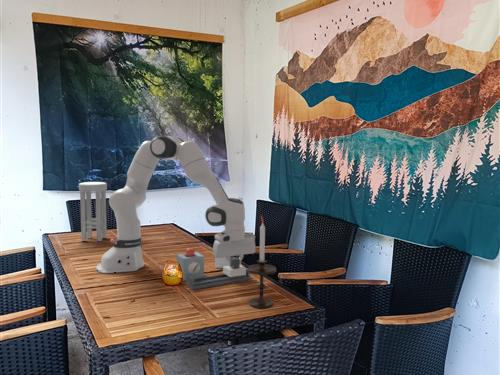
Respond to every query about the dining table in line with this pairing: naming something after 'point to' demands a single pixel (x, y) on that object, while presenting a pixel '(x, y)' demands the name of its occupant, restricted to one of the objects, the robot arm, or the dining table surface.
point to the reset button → (190, 252)
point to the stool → (100, 212)
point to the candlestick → (261, 273)
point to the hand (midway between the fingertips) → (234, 264)
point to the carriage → (234, 268)
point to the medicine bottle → (221, 262)
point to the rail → (214, 280)
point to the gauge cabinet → (191, 265)
